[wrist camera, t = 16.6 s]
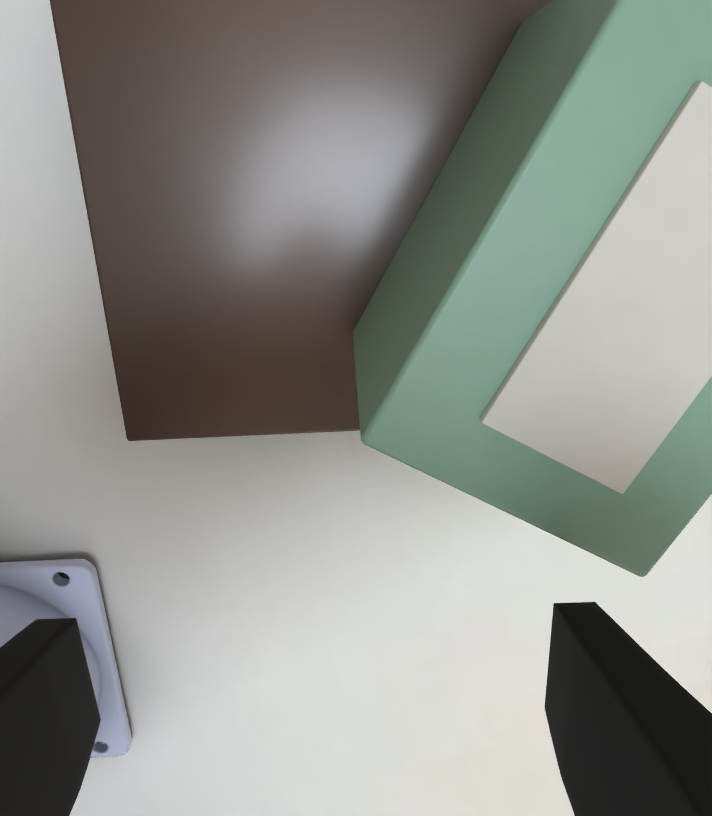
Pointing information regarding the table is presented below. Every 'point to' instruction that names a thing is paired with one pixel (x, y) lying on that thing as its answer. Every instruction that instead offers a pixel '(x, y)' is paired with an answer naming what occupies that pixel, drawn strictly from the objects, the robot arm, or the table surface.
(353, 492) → the table surface
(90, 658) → the robot arm
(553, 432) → the tissue box
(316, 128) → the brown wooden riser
